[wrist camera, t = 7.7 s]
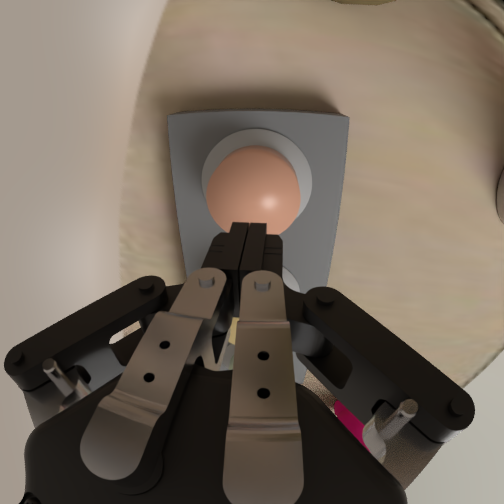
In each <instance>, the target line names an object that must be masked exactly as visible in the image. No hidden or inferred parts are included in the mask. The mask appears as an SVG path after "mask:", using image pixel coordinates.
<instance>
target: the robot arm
mask: <svg viewBox="0 0 504 504" xmlns="http://www.w3.org/2000/svg"><path fill="white" fill-rule="evenodd" d="M497 210H498V214H499V217H500V219H501V221H502V223H503V224H504V170H503V172H502V174H501V178H500V181H499V185H498V191H497ZM282 273H283V240H282V239H281V238H280V236H279V235H277V234H267V223H253V222H250V223H249V222H232V225H231V228H230V231H229V233H227V232H220V233H219V234H218V235H217V236H215V237H214V238H213V240H212V242H211V246H210V247H209V250H208V252H207V254H206V257H205V259H204V262H203V264H202V266H201V269H198V270H196V271H194V272H192V273H191V274H190V275H189V277H188V278H187V280H186V282H185V283H184V284H180V285H173V286H165V282H164V280H163V279H161V278H160V277H157V276H144V277H141V278H139V279H137V280H135V281H133V282H131V283H129V284H127V285H125V286H123V287H121V288H119V289H117V290H116V291H114V292H112V293H110V294H108V295H106V296H104V297H102V298H101V299H99V300H97V301H95V302H93V303H91V304H89V305H88V306H86V307H84V308H82V309H80V310H78V311H77V312H75V313H73V314H71V315H69V316H67V317H66V318H64V319H62V320H60V321H58V322H57V323H55V324H53V325H51V326H50V327H48V328H46V329H44V330H42V331H41V332H39V333H37V334H35V335H34V336H32V337H30V338H28V339H27V340H25V341H23V342H22V343H20V344H18V345H16V346H15V347H13V348H12V349H11V350H10V351H9V352H8V354H7V355H6V358H5V362H4V368H5V371H6V372H7V374H8V375H9V376H10V377H11V378H12V379H13V380H14V381H15V382H16V383H17V385H18V386H19V388H20V389H21V390H22V391H23V393H24V396H25V400H26V403H27V406H28V409H29V413H30V415H31V418H32V421H33V424H34V427H35V429H34V430H33V431H32V433H31V434H30V436H29V438H28V440H27V442H26V446H25V452H24V458H25V471H26V485H25V493H24V497H23V499H22V500H21V502H20V503H19V504H407V497H406V493H405V491H404V490H405V489H406V488H407V487H408V486H409V485H410V484H411V483H412V482H413V481H414V479H415V478H416V477H417V476H418V475H419V474H420V473H421V471H422V470H423V469H424V468H425V467H426V465H427V464H428V463H429V462H430V460H431V459H432V458H433V457H434V456H435V454H436V453H437V452H438V450H439V449H440V448H441V446H442V445H444V444H445V443H447V442H448V441H449V440H451V439H452V438H454V437H455V436H456V435H458V434H459V433H460V432H462V431H463V430H464V429H465V428H467V427H468V426H469V425H470V424H471V422H472V421H473V418H474V414H475V406H474V403H473V400H472V398H471V397H470V395H469V394H468V393H467V392H466V391H464V390H463V389H462V388H461V387H460V386H458V385H457V384H456V383H455V382H453V381H452V380H451V379H450V378H449V377H447V376H446V375H445V374H444V373H442V372H441V371H440V370H439V369H437V368H436V367H435V366H434V365H432V364H431V363H430V362H429V361H427V360H426V359H425V358H424V357H422V356H421V355H420V354H419V353H417V352H416V351H415V350H414V349H412V348H411V347H410V346H409V345H407V344H406V343H405V342H404V341H402V340H401V339H400V338H398V337H397V336H396V335H395V334H393V333H392V332H391V331H390V330H388V329H387V328H386V327H384V326H383V325H382V324H381V323H379V322H378V321H377V320H375V319H374V318H373V317H372V316H370V315H369V314H368V313H366V312H365V311H364V310H362V309H361V308H360V307H359V306H357V305H356V304H355V303H353V302H352V301H351V300H349V299H348V298H347V297H346V296H344V295H343V294H342V293H340V292H339V291H337V290H335V289H333V288H330V287H324V286H320V287H315V288H312V289H310V290H308V291H307V292H306V294H304V293H300V292H297V291H294V290H292V289H290V288H289V287H288V286H287V285H286V284H285V283H284V281H283V277H282ZM233 317H235V318H239V321H237V326H236V338H235V350H234V362H233V369H232V370H223V371H219V370H220V367H221V363H222V360H223V357H224V354H225V350H226V347H227V344H228V341H229V337H230V334H231V324H232V319H233ZM137 321H139V323H140V326H141V328H139V329H138V330H136V331H134V332H133V333H131V334H129V335H128V336H126V337H124V338H122V339H121V340H119V341H117V342H116V343H113V344H109V341H110V338H111V337H112V336H113V335H114V334H116V333H118V332H119V331H121V330H123V329H125V328H126V327H128V326H130V325H132V324H133V323H135V322H137ZM292 351H293V352H296V356H297V358H298V359H299V361H300V362H301V363H302V364H303V365H304V366H305V367H306V368H307V369H308V370H309V371H310V372H311V373H312V374H313V375H314V376H315V377H316V378H317V379H318V380H319V381H320V382H321V383H322V384H323V385H324V386H325V387H326V388H327V389H328V390H329V391H330V392H331V393H332V394H333V395H334V396H335V397H336V398H337V399H338V400H339V401H340V402H341V403H342V404H343V405H344V406H345V407H346V408H347V409H348V410H349V411H350V412H351V413H352V414H353V415H354V416H355V417H356V418H357V419H358V420H359V421H360V422H362V423H363V424H364V425H365V426H364V428H363V433H362V436H363V441H364V443H365V445H366V446H367V448H368V449H369V450H370V452H371V453H370V452H369V451H368V450H367V449H366V448H365V447H364V446H363V445H362V443H361V442H360V441H359V440H358V439H357V438H356V437H355V436H354V435H353V434H352V433H351V432H350V431H349V430H348V429H347V428H346V426H345V425H344V424H343V423H342V422H341V421H340V420H339V419H338V418H337V417H336V416H335V415H334V413H333V412H332V411H331V410H330V409H329V408H328V407H327V406H326V405H325V404H324V402H323V401H322V400H321V399H320V398H319V397H318V396H317V395H316V394H315V393H313V392H312V391H311V390H309V389H308V388H306V387H305V386H303V385H301V384H299V383H296V382H295V375H294V364H293V352H292Z"/></svg>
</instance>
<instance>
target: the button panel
mask: <svg viewBox="0 0 504 504" xmlns="http://www.w3.org/2000/svg"><path fill="white" fill-rule="evenodd" d="M167 122H168V135H169V146H170V157H171V167H172V177H173V185H174V194H175V202H176V210H177V217H178V224H179V231H180V238H181V244H182V251H183V257H184V263H185V269H186V275H187V278H188V277H189V275H190V274H191V273H192V272H194V271H196V270H198V269H201V266H202V264H203V262H204V259H205V257H206V254H207V252H208V250H209V247H210V246H211V242H212V240H213V238H214V237H215V236H217V235H218V234H219V233H220V232H226V231H224V230H223V229H222V228H221V227H220V226H219V225H218V224H217V223H216V222H215V221H214V219H213V217H212V216H211V214H210V212H209V209H208V206H207V200H206V191H207V186H208V182H209V180H210V178H211V176H212V174H213V173H214V171H215V170H216V168H217V167H218V166H219V164H220V163H221V162H222V160H223V159H224V158H225V157H226V156H227V155H228V154H230V153H231V152H233V151H234V150H236V149H238V148H241V147H244V146H250V145H259V146H265V147H269V148H272V149H274V150H276V151H278V152H279V153H281V154H282V155H284V156H285V157H286V158H287V159H288V160H289V162H290V163H291V164H292V166H293V168H294V170H295V172H296V175H297V179H298V184H299V189H300V195H301V202H300V208H299V211H298V214H297V216H296V218H295V220H294V221H293V223H292V224H291V225H290V226H289V227H288V228H287V229H286V230H285V231H283V232H282V233H281V234H279V236H280V238H281V239H282V240H283V273H282V277H283V281H284V283H285V284H286V285H287V286H288V287H289V288H290V289H292V290H294V291H297V292H300V293H304V294H306V292H307V291H308V290H310V289H312V288H315V287H320V286H324V287H326V286H327V281H328V276H329V271H330V265H331V260H332V254H333V249H334V243H335V237H336V230H337V224H338V217H339V211H340V203H341V196H342V188H343V180H344V172H345V162H346V152H347V142H348V130H349V117H348V116H345V115H343V114H338V113H328V112H318V111H305V110H288V109H215V110H198V111H185V112H177V113H174V114H170V115H167ZM234 350H235V345H234V344H232V343H230V342H228V344H227V347H226V350H225V354H224V357H223V360H222V363H221V367H220V370H219V371H223V370H228V369H229V363H230V359H231V357H232V356H233V355H234ZM292 352H293V351H292ZM293 364H294V375H295V382H296V383H299V384H303V382H304V378H305V374H306V371H307V368H306V367H305V366H304V365H303V364H302V363H301V362H300V361H299V359H298V358H297V356H296V352H293Z"/></svg>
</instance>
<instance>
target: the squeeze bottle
mask: <svg viewBox="0 0 504 504" xmlns="http://www.w3.org/2000/svg"><path fill="white" fill-rule="evenodd" d="M332 1H335V2H338V3H341V4H360V5H380V4H384V3H388V2H392V1H396V0H332Z"/></svg>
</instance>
